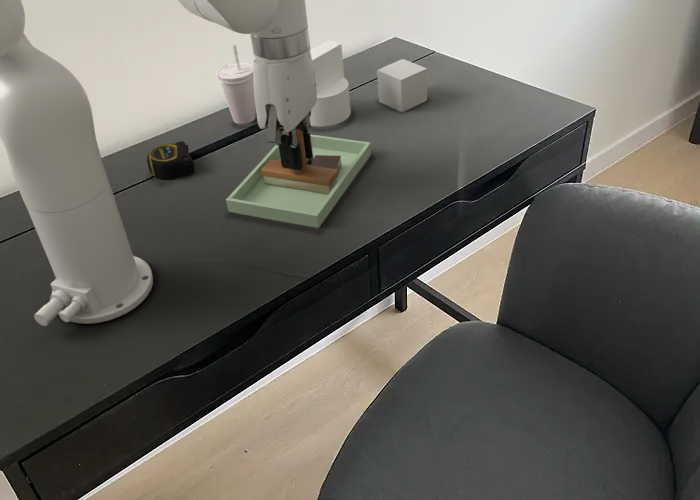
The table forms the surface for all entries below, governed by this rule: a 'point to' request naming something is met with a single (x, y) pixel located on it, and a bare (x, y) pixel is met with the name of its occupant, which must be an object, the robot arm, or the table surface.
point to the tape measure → (170, 161)
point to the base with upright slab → (329, 85)
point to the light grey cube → (402, 85)
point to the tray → (297, 202)
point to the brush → (300, 173)
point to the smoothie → (238, 89)
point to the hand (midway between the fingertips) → (297, 161)
